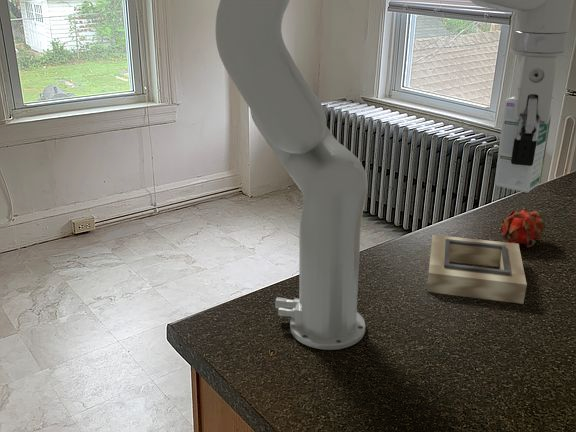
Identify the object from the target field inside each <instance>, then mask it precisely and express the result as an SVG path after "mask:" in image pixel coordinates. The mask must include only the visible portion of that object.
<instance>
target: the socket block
mask: <svg viewBox="0 0 576 432" xmlns="http://www.w3.org/2000/svg"><path fill="white" fill-rule="evenodd" d="M431 237H432V238H431V247H430V256H429V265H428V266H429V267H428V275H427V286H426V292H427V293H432V294H433V293H434V294H442V295H451V296H457V297H458V296H459V297H464V298H465V297H466V298H474V299H481V300H488V301H489V300H490V301H495V302H496V301H498V302H505V303H512V304H513V303H515V304H521V305H523V304H524V301H525V297H526V290H527V285H528V283H527V280H526V274H525V270H524V264H523V260H522V255H521V250H520V244H517V243H507V241H506V242H505V241H497V240H485V239H476V238H468V237H467V238H465V237H459V236H458V237H457V236H448V235H439V234H432V236H431ZM450 262H451V263H450ZM456 263H460V264H456ZM464 264H466V265H464ZM468 264H469V265H468ZM474 265H477V266H474ZM480 266H481V267H480ZM482 266H485V267H482ZM487 266H488V267H487ZM491 267H496V268H491Z"/></svg>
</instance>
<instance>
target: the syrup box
mask: <svg viewBox="0 0 576 432" xmlns="http://www.w3.org/2000/svg"><path fill="white" fill-rule="evenodd" d="M514 100H515V99H514V95H513V96H511V97H509V98H506V99H505V100H504V107H503V115H502V121H501V128H500V129H501V130H500V136H499V137H500V138H499V145H498V153H497V162H496V168H495V177H494V185H495V186H497V187H501V188H504V189H507V190H508V189H509V190H513V191H517V192H522V193H530V191H531V190H533V189H535V188H536V187H537V186H538V185H539V184H541V182H542V177H543V169H544V165H545V164H544V162H545V157H546V151H547V144H548V137H549V131H550V124H551V118H552V112H553V107H554V100H555V99H554V97H553V96H552V99H551V106H550V114H549V121H548V122H547V123H545V124H543V121H540V117H539V119H538V128H537V137H536V140H537V143H536V149H535V155H534V161H533V165H531V166H526V165H515V164H512V163H511V158H512V151H513V145H514V138H515V139H516V138H517V129H518V122H517V121H516V120H515V119H514ZM527 102H528V99H527ZM526 106H527V105H526ZM522 115H523V113H522ZM536 115H538V116H539V113H538V110H536ZM522 119H526V117H522ZM522 127H523V125H522ZM521 132H522V131H521Z"/></svg>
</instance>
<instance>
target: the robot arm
mask: <svg viewBox="0 0 576 432" xmlns="http://www.w3.org/2000/svg"><path fill="white" fill-rule="evenodd" d="M469 1H470V2H472V3H473V4H474V5H476V6H479V7H482V8H486V9H491V10H501V11H503V10H504V11H510V12H515V22H514V27H513V35H512V41H511V48H510V53H511V54H513V55H516V56H518V57H517V65H516V71H515V79H514V86H513V96H514V99H515V100H514V119H515V120H516V121H517V122H518V129H517V138H516V139H515V138H514V145H513V151H512V158H511V163H512V164H515V165H526V166H531V165H533V161H534V155H535V149H536V143H537V140H536V137H537V128H538V119H539V117H540V121H543V124H545V123H547V122H548V121H549V114H550V106H551V99H552V97H553V92H554V86H555V85H554V84H555V77H556V70H557V57H563V56H564V55H565V51H566V46H567V40H568V34H569V28H570V24H571V19H572V12H573V8H574V3H575V0H469ZM289 3H290V0H219V3H218V7H217V10H216V16H215V42H216V43H215V44H216V47H217V51H218V54H219V58H220V60H221V62H222V65H223V66H224V69H225V70H226V72H227V74H228V76H229V77H230V79H231V80H232V82H233V84H234V85H235V87H236V88H237V90H238V91H239V93H240V95H241V97H242V98H243V100H244V101H245V103H246V104H247V106H248V107H249V109H250V115H251V119H252V121H253V123H254V125H255V126H256V128H257V129H258V131H259V133H260V134H261V136H262V137H263V138H264V140H265V142H266V143H267V145H268V146H269V148H270V150H271V151H272V152H273V153H274V156H276V158H277V159H278V160H279V162H280V163H281V165H282V167H284V169H285V170H286V172H287V173H288V175H289V176H290V177H291V179H292V181H293V182H294V183H295V184H296V186H297V188H298V189H299V190H300V191H301V194H302V209H301V215H300V221H299V235H298V237H299V238H298V240H299V241H298V242H299V243H298V246H299V252H298V253H299V256H298V257H299V263H298V264H299V265H298V266H299V267H298V268H299V272H298V275H299V276H298V277H299V281H298V282H299V283H298V284H299V287H298V289H299V293H298V295H299V296H298V297H299V298H298V297H297V298H296V297H294V299H292V298H291V299H290V298H285V297H279V296H276V298H275V302H274V307H275V309H278V310H277V315H278V316H279V317H280V316H281V317H291V318H290V322H289V327H290V333H291V334H292V337H293V338H294V339H296V340H297V342H299V343H300V344H302V345H305V346H307V347H310V348H313V349H318V350H324V351H332V350H333V351H334V350H336V351H337V350H342V349H345V348H348V347H351V346H354V345H355V344H358V342H360V341H361V340H362V339H363V337H364V336H365V333H366V322H365V319H364V317H363V316H362V315H361V313H359V312H358V311H357V309H358V292H359V291H358V290H359V289H358V288H359V268H360V249H361V248H360V247H361V231H362V230H361V229H362V219H363V213H364V209H365V205H366V199H367V195H368V186H369V182H368V177H367V173H366V170H365V168H364V166H363V164H362V162H361V161H360V159H359V158H358V157H357V156H356V155H355V154H354V153H353V152H352V151H351V150H349V149H348V148H347V147H346V146H344V145H343V144H341V143H340V142H339V141H338V140H337V139H336V138H335V136H334V135H333V134H332V132H331V130H330V129H329V127H328V126H327V116H326V113H325V109H324V107H323V105H322V103H321V101H320V99H319V98H318V96H317V95H316V94H315V93H314V91H313V90H312V88H311V87H310V85H309V84H308V82H307V80H306V79H305V77H304V75H303V74H302V73H301V71H300V69H299V68H298V67H297V65H296V63H295V61H294V59H293V57H292V54H291V53H290V52H289V50H288V48H287V46H286V44H285V42H284V39H283V35H282V34H283V33H282V23H283V18H284V15H285V12H286V10H287V7H288V5H289ZM527 99H528V102H527ZM526 105H527V106H526ZM536 110H538V113H539V116H538V115H536ZM522 113H523V115H522ZM522 117H526V119H522ZM522 125H523V127H522ZM521 131H522V132H521Z"/></svg>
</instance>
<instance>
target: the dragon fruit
mask: <svg viewBox="0 0 576 432" xmlns="http://www.w3.org/2000/svg"><path fill="white" fill-rule="evenodd" d="M545 223H546V222H545V218H544V217H543V216H542V215H541V213H540V212H539V211H537V210H532V211H529V210H528V209H527V208H525V207H523V208H522V210H521V211H517V210H513V211H511V212H510V213H509V214H508V215H507V216H506V217H505V218H504V219H503V220H502V223H501V227H500V230H499V233H500V234H501V236H502V238H503V240H504V241H505V240H506V242H507V243H517V244H519V245H524V247H526V248H527V249H528V248H531V247H533V246H534V245H535V243H536V242H537V241H536V240H539V241H540V240H544V239H545V238H546V235H545V234H544V232H543V231H545V230H546V229H547V226H546V224H545Z"/></svg>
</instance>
